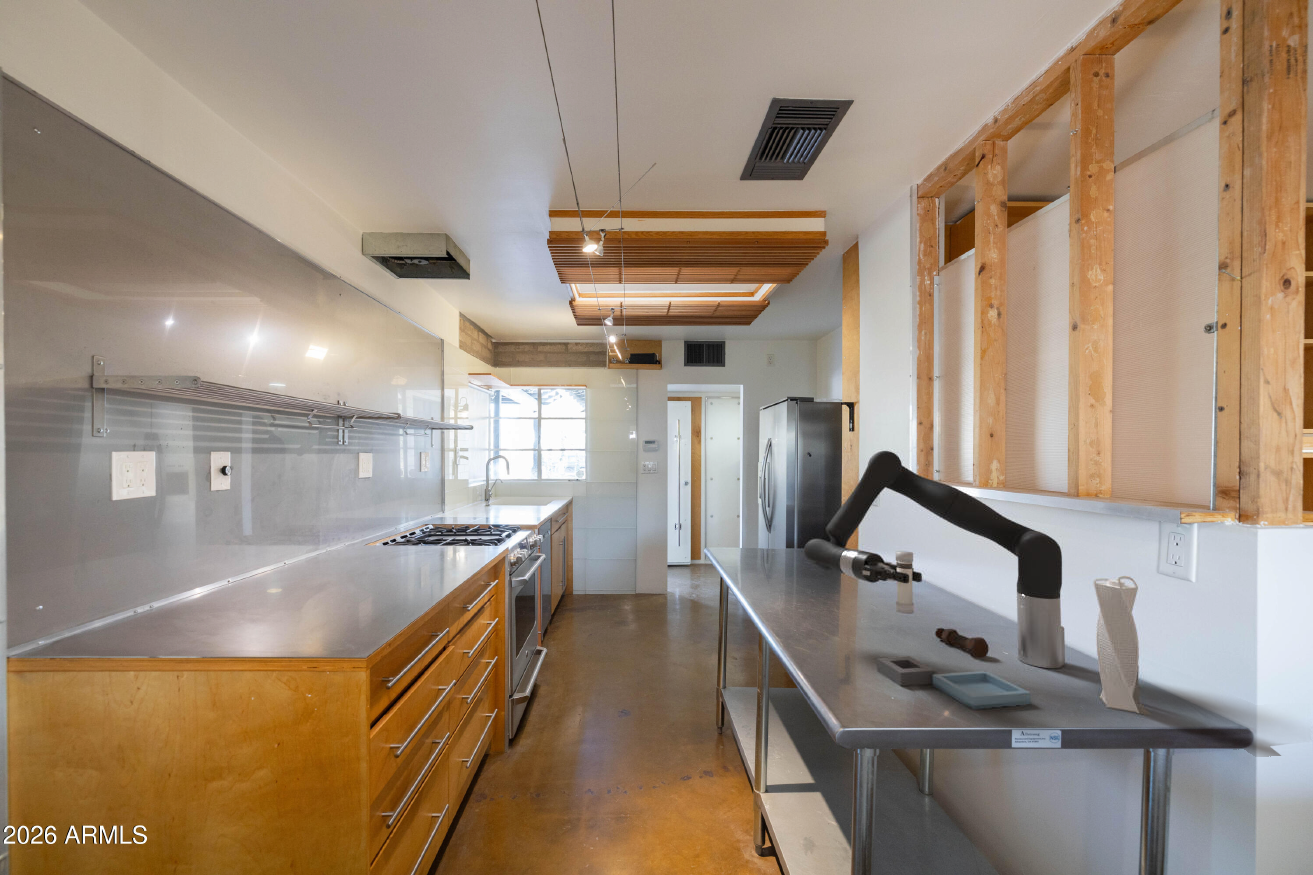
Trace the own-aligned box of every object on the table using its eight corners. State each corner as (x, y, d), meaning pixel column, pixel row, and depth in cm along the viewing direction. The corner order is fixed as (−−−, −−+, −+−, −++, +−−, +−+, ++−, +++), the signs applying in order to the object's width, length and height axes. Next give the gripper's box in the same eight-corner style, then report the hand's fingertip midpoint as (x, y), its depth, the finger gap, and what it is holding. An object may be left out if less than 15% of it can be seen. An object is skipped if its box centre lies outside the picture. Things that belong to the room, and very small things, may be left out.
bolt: (941, 645, 155) (983, 663, 141) (928, 637, 154) (968, 654, 140) (949, 627, 156) (992, 642, 142) (936, 619, 155) (977, 634, 141)
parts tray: (985, 681, 125) (985, 670, 125) (1030, 704, 113) (1030, 692, 113) (932, 685, 122) (932, 674, 122) (973, 709, 110) (973, 697, 111)
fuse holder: (909, 668, 132) (909, 656, 132) (935, 683, 123) (935, 670, 124) (877, 670, 131) (877, 658, 131) (900, 685, 122) (900, 672, 122)
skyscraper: (1153, 719, 108) (1149, 579, 109) (1102, 710, 111) (1098, 575, 113) (1138, 703, 115) (1134, 572, 116) (1091, 695, 119) (1088, 568, 120)
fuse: (906, 608, 130) (906, 550, 131) (917, 613, 126) (916, 553, 127) (892, 609, 129) (892, 551, 130) (903, 613, 125) (902, 553, 126)
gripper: (840, 552, 139) (891, 564, 123) (882, 549, 144) (936, 560, 128) (840, 581, 139) (891, 596, 123) (882, 577, 144) (937, 592, 128)
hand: (914, 578), depth 125 cm, fingers closed on fuse, 3 cm apart
